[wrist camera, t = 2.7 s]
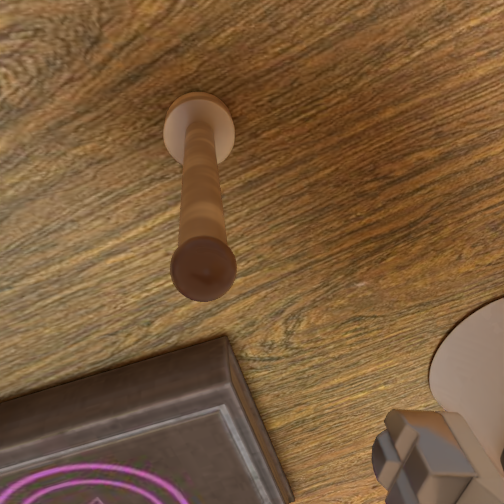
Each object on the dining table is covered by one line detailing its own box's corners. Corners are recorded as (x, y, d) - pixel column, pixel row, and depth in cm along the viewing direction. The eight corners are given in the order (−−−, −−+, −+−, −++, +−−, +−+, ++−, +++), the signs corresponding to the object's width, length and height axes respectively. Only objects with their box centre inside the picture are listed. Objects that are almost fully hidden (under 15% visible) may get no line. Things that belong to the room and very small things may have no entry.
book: (9, 574, 49) (-10, 631, 44) (-143, 440, 38) (-187, 499, 33) (293, 495, 47) (303, 547, 43) (224, 330, 36) (228, 378, 32)
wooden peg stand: (238, 98, 28) (288, 234, 13) (226, 163, 29) (258, 347, 15) (169, 84, 27) (138, 214, 12) (161, 152, 29) (126, 335, 14)
